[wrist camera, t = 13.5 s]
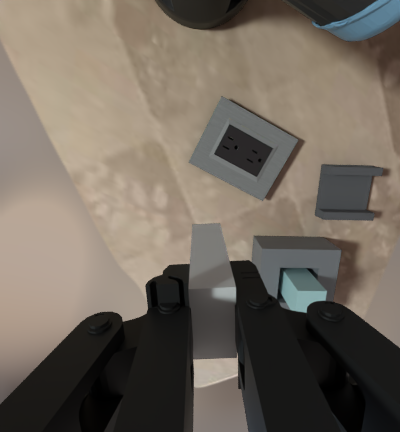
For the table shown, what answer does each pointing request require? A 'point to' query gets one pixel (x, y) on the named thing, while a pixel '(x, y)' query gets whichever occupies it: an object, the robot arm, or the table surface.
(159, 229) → the table surface
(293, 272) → the plug
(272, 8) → the table surface
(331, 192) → the grey u-channel bracket
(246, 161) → the electrical outlet
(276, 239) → the port block
